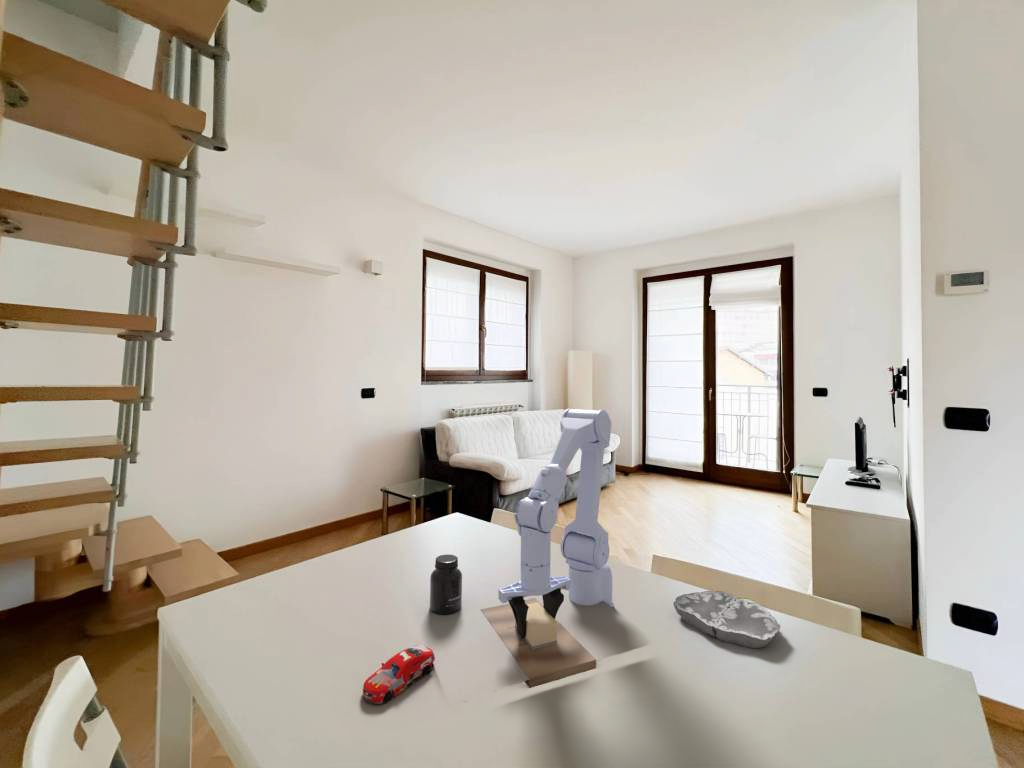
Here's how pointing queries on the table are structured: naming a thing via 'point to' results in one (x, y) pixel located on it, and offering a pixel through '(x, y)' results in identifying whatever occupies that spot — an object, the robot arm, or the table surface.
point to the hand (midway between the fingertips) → (535, 631)
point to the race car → (398, 674)
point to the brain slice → (728, 618)
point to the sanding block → (539, 627)
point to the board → (540, 649)
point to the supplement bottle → (446, 586)
